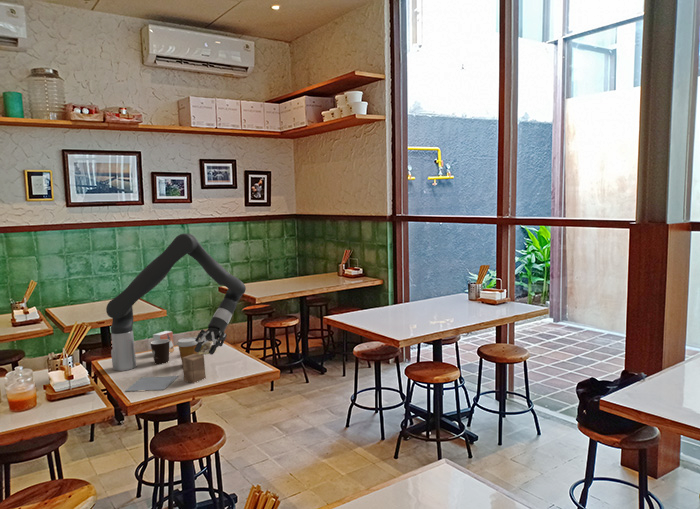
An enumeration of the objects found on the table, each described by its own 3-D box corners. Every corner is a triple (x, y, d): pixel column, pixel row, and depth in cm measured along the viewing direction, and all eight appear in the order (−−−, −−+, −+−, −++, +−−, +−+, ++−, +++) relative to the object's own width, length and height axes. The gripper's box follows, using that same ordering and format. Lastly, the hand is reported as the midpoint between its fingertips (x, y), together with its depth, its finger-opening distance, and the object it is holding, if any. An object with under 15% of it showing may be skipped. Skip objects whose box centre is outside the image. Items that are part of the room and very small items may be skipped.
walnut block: (184, 381, 221) (182, 357, 220) (195, 376, 226) (193, 353, 225) (194, 383, 218) (192, 359, 217) (205, 378, 223) (203, 355, 222)
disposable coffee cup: (203, 361, 247) (201, 336, 246) (195, 368, 238) (193, 342, 237) (184, 362, 248) (182, 337, 247) (175, 368, 239) (173, 342, 238)
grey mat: (125, 391, 212) (124, 390, 212) (141, 378, 228) (141, 377, 228) (164, 390, 211) (164, 389, 211) (177, 376, 227) (177, 375, 227)
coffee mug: (171, 363, 247) (169, 342, 246) (151, 366, 245) (149, 345, 244) (171, 356, 258) (170, 336, 257) (153, 359, 256) (151, 339, 255)
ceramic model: (188, 357, 256) (186, 337, 255) (185, 352, 266) (184, 332, 265) (217, 353, 261) (215, 333, 260) (214, 347, 271) (212, 328, 270)
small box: (161, 356, 261) (159, 335, 260) (154, 354, 264) (152, 334, 263) (174, 351, 267) (172, 331, 266) (167, 350, 270) (165, 330, 269)
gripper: (204, 315, 236) (186, 346, 227) (227, 317, 228) (210, 350, 220) (213, 323, 241) (196, 355, 232) (236, 326, 233) (220, 358, 225)
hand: (203, 352), depth 226 cm, fingers open, 8 cm apart
